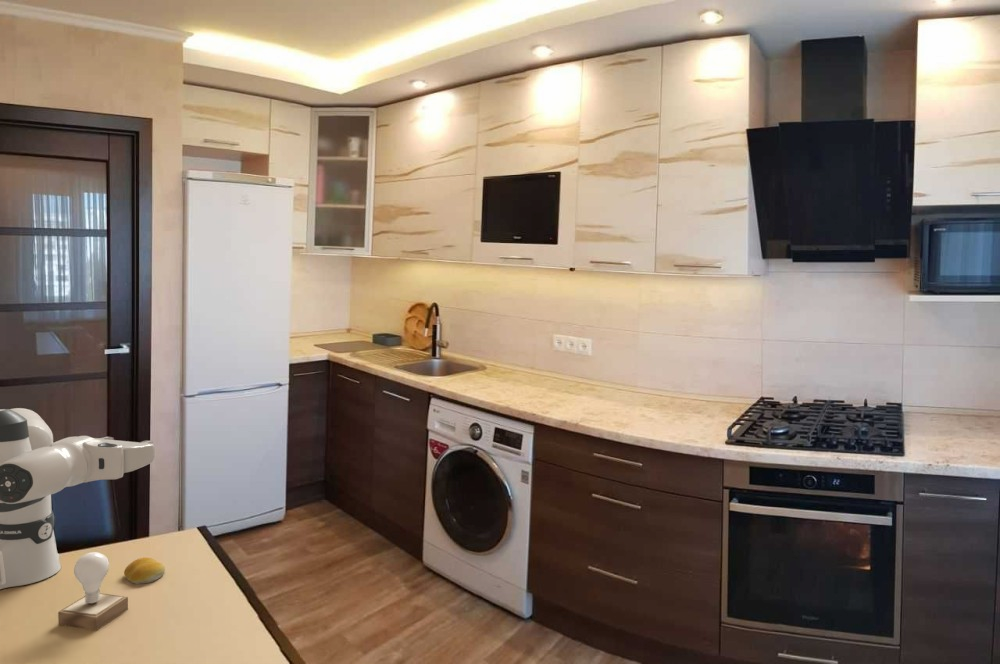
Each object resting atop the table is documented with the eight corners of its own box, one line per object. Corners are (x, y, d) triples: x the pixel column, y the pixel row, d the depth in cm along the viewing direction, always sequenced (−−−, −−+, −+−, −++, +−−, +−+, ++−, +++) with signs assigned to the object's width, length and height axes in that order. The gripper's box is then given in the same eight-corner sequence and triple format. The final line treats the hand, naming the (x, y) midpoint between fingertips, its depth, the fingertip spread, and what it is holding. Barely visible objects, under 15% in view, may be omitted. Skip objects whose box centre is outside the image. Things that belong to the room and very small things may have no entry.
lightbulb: (68, 605, 145) (67, 555, 144) (98, 593, 150) (97, 544, 149) (86, 613, 142) (85, 562, 141) (116, 600, 147) (115, 551, 146)
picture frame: (58, 624, 143) (58, 610, 142) (91, 604, 151) (91, 591, 151) (96, 630, 141) (96, 616, 141) (127, 609, 150) (127, 596, 150)
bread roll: (137, 588, 160) (136, 572, 159) (119, 576, 165) (119, 560, 165) (172, 576, 166) (171, 560, 166) (154, 565, 172) (153, 550, 171)
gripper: (34, 470, 137) (88, 452, 150) (125, 480, 133) (172, 460, 146) (33, 439, 136) (87, 424, 150) (124, 448, 132) (171, 431, 146)
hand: (130, 442), depth 148 cm, fingers open, 8 cm apart
